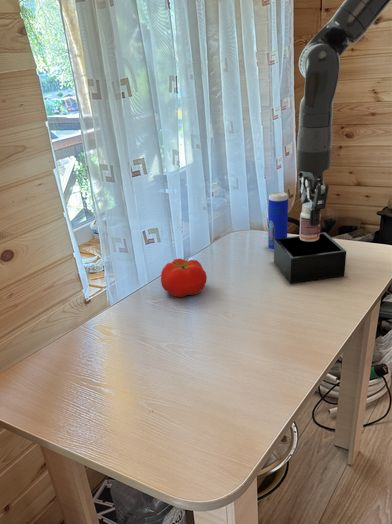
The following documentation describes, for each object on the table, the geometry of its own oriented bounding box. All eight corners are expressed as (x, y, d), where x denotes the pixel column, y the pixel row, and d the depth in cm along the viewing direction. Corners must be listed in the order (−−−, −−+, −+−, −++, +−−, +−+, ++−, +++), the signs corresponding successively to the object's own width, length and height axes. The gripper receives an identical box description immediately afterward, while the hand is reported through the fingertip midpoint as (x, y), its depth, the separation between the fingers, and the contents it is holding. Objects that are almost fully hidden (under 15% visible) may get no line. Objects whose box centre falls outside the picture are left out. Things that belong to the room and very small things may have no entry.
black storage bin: (323, 256, 136) (325, 232, 133) (344, 276, 125) (346, 251, 121) (273, 262, 135) (274, 238, 131) (290, 284, 124) (291, 258, 120)
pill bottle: (322, 240, 124) (324, 206, 119) (303, 243, 123) (304, 208, 119) (315, 234, 128) (317, 200, 123) (296, 236, 127) (298, 202, 123)
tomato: (212, 297, 121) (210, 268, 116) (166, 305, 119) (162, 275, 115) (201, 279, 129) (199, 251, 125) (159, 286, 128) (155, 258, 124)
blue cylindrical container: (266, 246, 145) (266, 192, 137) (284, 244, 145) (285, 190, 137) (270, 252, 141) (271, 198, 133) (289, 250, 141) (290, 196, 133)
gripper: (343, 151, 108) (337, 229, 118) (318, 139, 120) (314, 210, 130) (309, 155, 108) (305, 233, 117) (287, 142, 120) (286, 214, 129)
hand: (310, 221), depth 123 cm, fingers closed on pill bottle, 4 cm apart
